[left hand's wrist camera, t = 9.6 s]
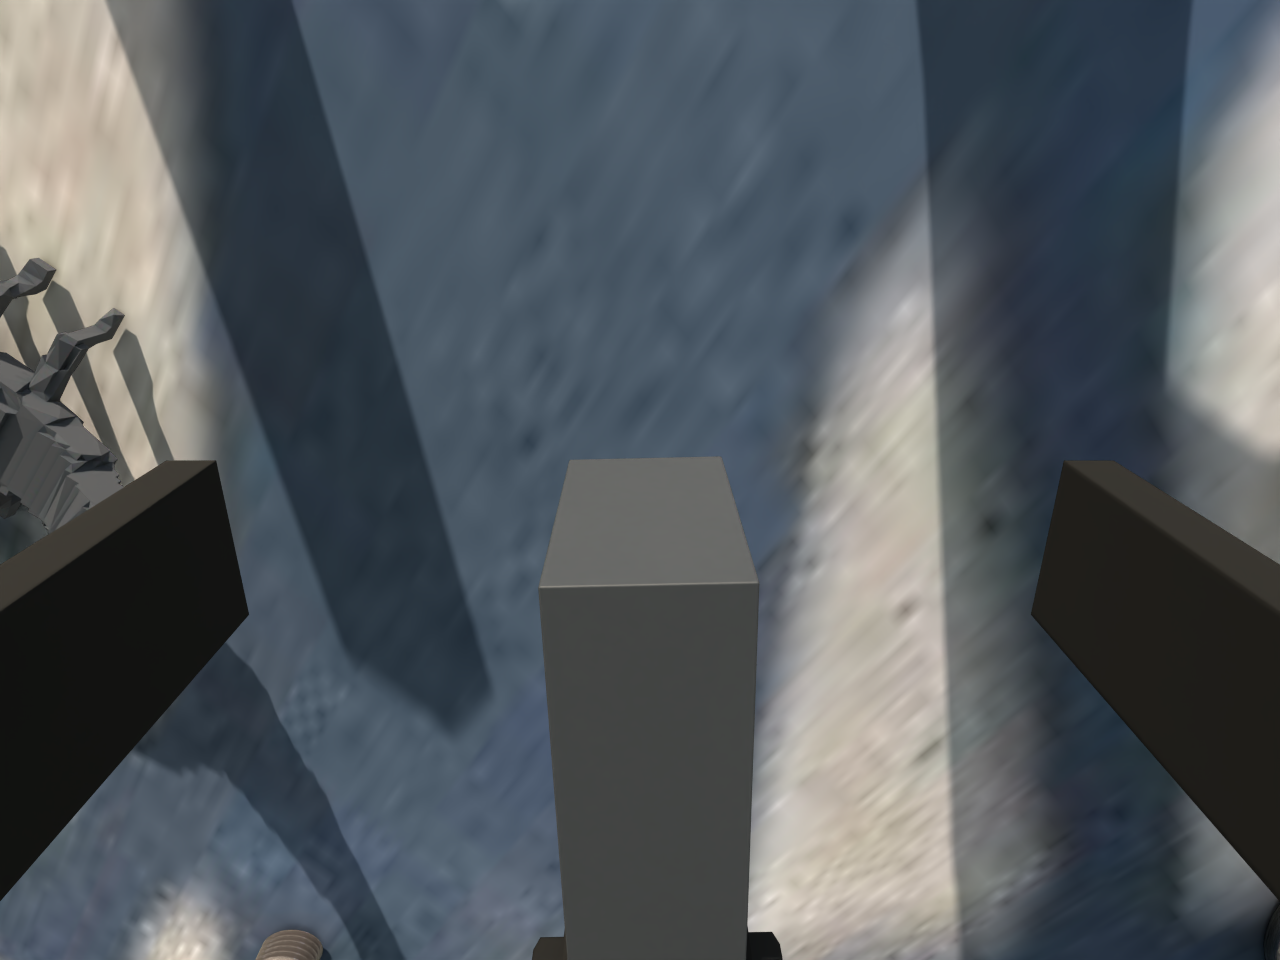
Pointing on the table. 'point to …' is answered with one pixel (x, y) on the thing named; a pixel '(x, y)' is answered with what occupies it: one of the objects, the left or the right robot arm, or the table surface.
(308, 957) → the light bulb
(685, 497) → the bar
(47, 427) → the toy
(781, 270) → the table surface
